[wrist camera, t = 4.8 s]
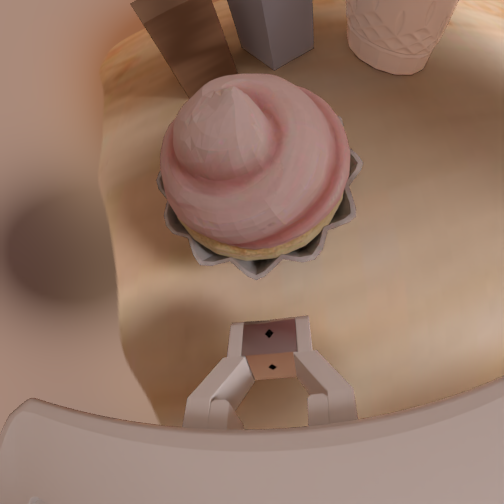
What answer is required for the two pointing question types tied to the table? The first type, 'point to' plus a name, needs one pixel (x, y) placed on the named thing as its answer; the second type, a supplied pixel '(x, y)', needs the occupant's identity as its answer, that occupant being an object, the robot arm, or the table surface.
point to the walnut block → (188, 39)
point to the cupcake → (256, 173)
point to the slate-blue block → (274, 28)
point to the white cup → (396, 31)
